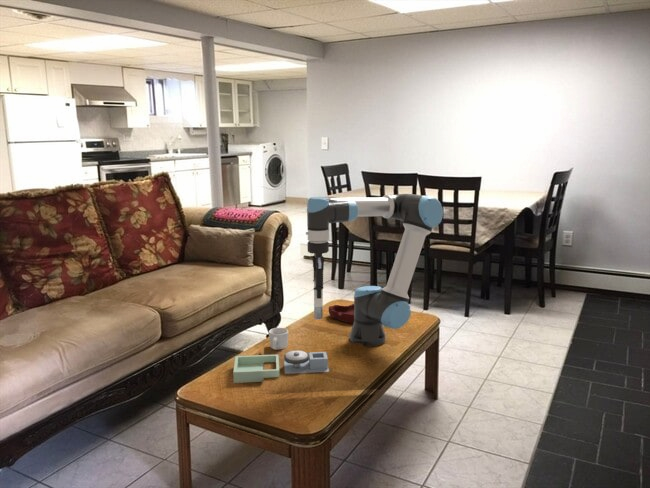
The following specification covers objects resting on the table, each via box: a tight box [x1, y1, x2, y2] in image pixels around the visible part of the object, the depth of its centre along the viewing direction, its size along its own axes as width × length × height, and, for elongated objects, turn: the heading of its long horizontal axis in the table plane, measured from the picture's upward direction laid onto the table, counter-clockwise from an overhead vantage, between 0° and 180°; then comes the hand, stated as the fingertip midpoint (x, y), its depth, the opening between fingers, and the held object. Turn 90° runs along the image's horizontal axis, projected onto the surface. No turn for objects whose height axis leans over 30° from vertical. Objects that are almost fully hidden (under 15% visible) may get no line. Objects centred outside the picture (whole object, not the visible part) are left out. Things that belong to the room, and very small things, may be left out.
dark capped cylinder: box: [313, 277, 323, 320], centre depth 194 cm, size 3×3×15 cm
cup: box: [268, 327, 289, 350], centre depth 216 cm, size 11×8×8 cm
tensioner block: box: [283, 350, 330, 375], centre depth 199 cm, size 16×11×7 cm
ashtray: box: [328, 303, 354, 325], centre depth 254 cm, size 18×16×5 cm
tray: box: [232, 354, 280, 384], centre depth 196 cm, size 16×14×4 cm
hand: (318, 304), depth 195 cm, fingers closed on dark capped cylinder, 3 cm apart
